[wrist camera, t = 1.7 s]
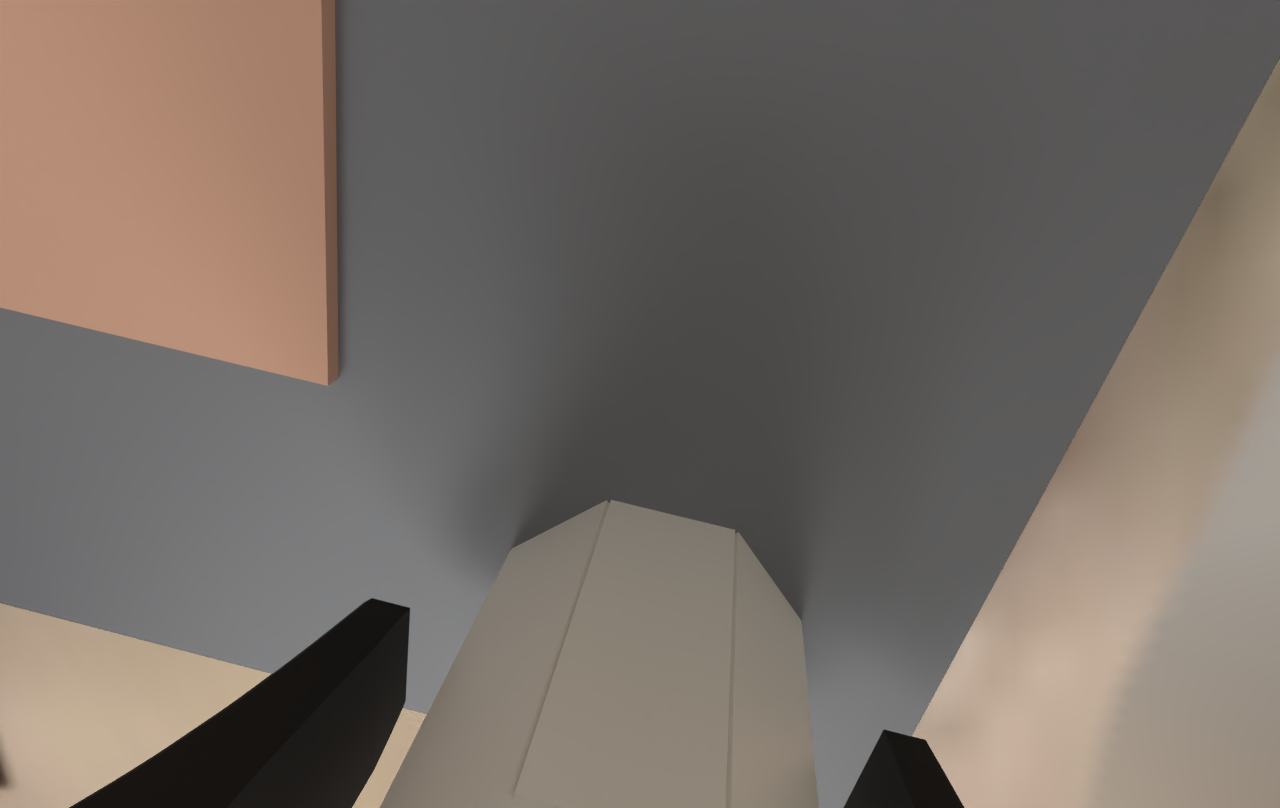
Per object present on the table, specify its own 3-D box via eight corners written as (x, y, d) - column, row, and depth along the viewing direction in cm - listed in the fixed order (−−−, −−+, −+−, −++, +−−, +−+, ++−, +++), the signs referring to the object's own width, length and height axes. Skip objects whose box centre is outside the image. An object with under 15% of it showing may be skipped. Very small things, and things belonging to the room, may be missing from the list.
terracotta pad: (-81, 277, 11) (-102, 282, 11) (-252, -311, 8) (-287, -323, 8) (338, 378, 11) (327, 386, 10) (333, -195, 8) (318, -204, 7)
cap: (491, 694, 13) (328, 1083, 8) (518, 477, 11) (319, 824, 6) (747, 761, 13) (746, 1203, 8) (830, 552, 11) (900, 982, 6)
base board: (45, 563, 15) (-9, 600, 14) (-168, -271, 9) (-292, -319, 8) (853, 771, 14) (862, 827, 13) (1237, 10, 8) (1311, -1, 7)
